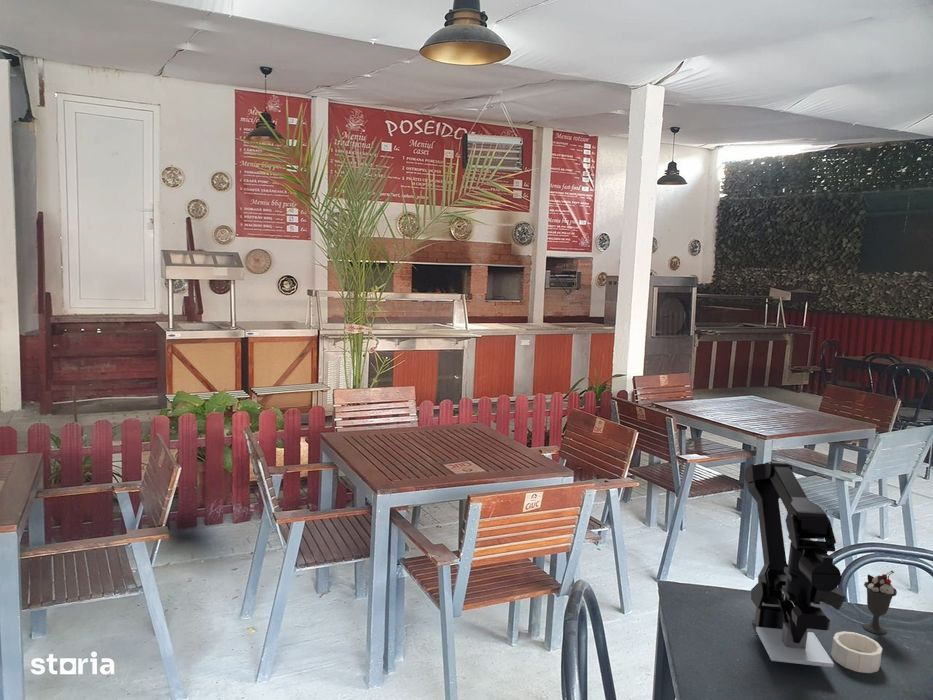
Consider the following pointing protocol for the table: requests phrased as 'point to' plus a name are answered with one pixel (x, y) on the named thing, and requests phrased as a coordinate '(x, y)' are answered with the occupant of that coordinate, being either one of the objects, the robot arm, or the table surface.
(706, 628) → the table surface
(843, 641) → the bowl
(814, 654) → the lid
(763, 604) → the robot arm
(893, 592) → the sundae
